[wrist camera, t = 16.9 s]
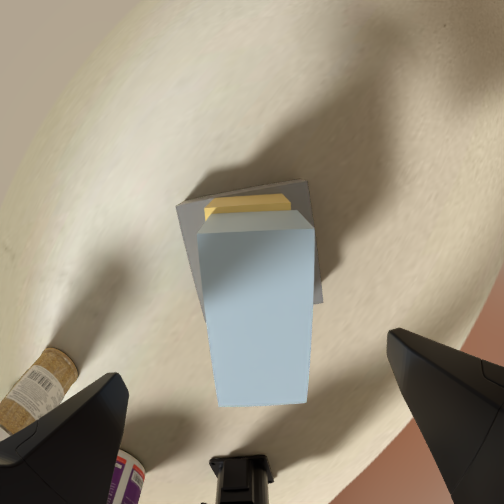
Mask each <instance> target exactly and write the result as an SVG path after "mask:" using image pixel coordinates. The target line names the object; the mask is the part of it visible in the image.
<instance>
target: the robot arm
mask: <svg viewBox="0 0 504 504" xmlns="http://www.w3.org/2000/svg"><path fill="white" fill-rule="evenodd" d="M387 357H388V360H389V362H390V365H391V367H392V370H393V373H394V375H395V378H396V380H397V383H398V386H399V388H400V391H401V393H402V395H403V397H404V399H405V401H406V403H407V405H408V407H409V409H410V411H411V413H412V415H413V417H414V419H415V421H416V423H417V425H418V427H419V429H420V431H421V432H422V435H423V437H424V439H425V441H426V443H427V445H428V447H429V449H430V451H431V453H432V455H433V457H434V459H435V462H436V464H437V466H438V468H439V470H440V472H441V475H442V477H443V479H444V481H445V484H446V486H447V488H448V490H449V492H450V494H451V498H452V500H453V502H454V504H504V367H502V366H499V365H497V364H494V363H491V362H488V361H486V360H481V359H480V358H477V357H475V356H472V355H469V354H467V353H464V352H462V351H459V350H456V349H454V348H451V347H449V346H446V345H443V344H441V343H438V342H436V341H433V340H431V339H428V338H425V337H423V336H420V335H418V334H415V333H413V332H410V331H407V330H405V329H402V328H396V329H392V330H389V332H388V334H387ZM128 399H129V392H128V389H127V387H126V385H125V383H124V381H123V379H122V378H121V376H120V374H119V373H117V372H114V373H106V374H105V375H104V376H102V377H101V378H99V379H98V380H96V381H95V382H93V383H92V384H90V385H89V386H87V387H86V388H84V389H83V390H81V391H80V392H78V393H77V394H75V395H74V396H72V397H71V398H69V399H68V400H66V401H65V402H63V403H62V404H60V405H59V406H57V407H56V408H54V409H53V410H51V411H50V412H48V413H47V414H45V415H44V416H42V417H41V418H39V420H36V421H34V422H33V423H31V424H30V425H28V426H27V427H25V428H23V429H22V430H20V431H18V432H17V433H15V434H13V435H11V436H9V437H8V438H6V439H4V440H2V441H0V504H107V501H108V496H109V491H110V486H111V482H112V477H113V473H114V468H115V464H116V460H117V456H118V452H119V448H120V444H121V440H122V436H123V431H124V426H125V419H126V412H127V405H128ZM209 465H210V466H211V468H212V470H213V471H214V473H215V475H216V476H217V478H218V481H217V492H216V504H269V497H268V484H269V483H273V482H274V478H273V475H272V472H271V469H270V466H269V463H268V460H267V457H266V456H265V455H259V456H249V457H238V458H224V459H211V460H209ZM201 504H206V503H201Z"/></svg>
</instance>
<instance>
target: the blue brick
mask: <svg viewBox="0 0 504 504" xmlns="http://www.w3.org/2000/svg"><path fill="white" fill-rule="evenodd" d="M197 243H198V254H199V263H200V273H201V282H202V291H203V300H204V308H205V316H206V324H207V331H208V339H209V346H210V353H211V360H212V367H213V374H214V380H215V387H216V393H217V399H218V405H219V407H245V406H270V405H285V404H298V403H307V393H308V381H309V368H310V353H311V337H312V317H313V292H314V250H315V228H314V227H313V226H312V225H311V224H310V223H309V222H308V221H307V220H306V219H305V218H304V217H303V216H302V215H301V213H300V212H299V211H298V210H282V211H257V212H236V213H217V214H210V216H209V217H208V219H207V220H206V221H205V223H204V224H203V226H202V227H201V228H200V230H199V231H198V233H197Z"/></svg>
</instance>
